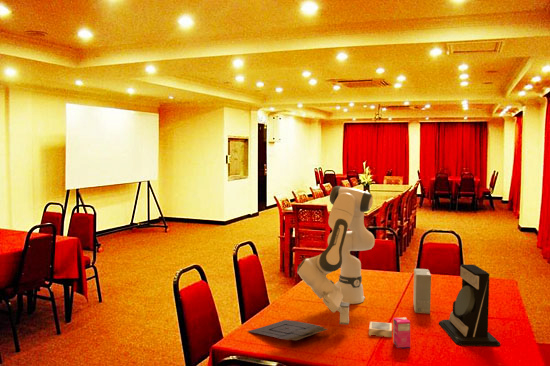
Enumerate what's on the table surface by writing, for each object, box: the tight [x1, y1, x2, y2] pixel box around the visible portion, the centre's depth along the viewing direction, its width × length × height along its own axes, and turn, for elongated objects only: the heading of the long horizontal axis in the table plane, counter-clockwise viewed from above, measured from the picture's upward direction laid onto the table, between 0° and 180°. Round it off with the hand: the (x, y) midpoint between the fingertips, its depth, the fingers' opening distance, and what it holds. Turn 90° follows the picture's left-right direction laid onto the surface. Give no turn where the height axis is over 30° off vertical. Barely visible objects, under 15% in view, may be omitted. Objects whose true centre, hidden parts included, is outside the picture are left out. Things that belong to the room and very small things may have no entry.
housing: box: [339, 302, 351, 326], centre depth 229 cm, size 4×5×8 cm
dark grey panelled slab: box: [247, 319, 329, 341], centre depth 227 cm, size 24×30×4 cm
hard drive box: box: [412, 268, 432, 314], centre depth 263 cm, size 16×8×20 cm, turn 168°
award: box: [438, 263, 501, 347], centre depth 227 cm, size 30×19×30 cm, turn 178°
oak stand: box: [368, 321, 393, 338], centre depth 229 cm, size 10×10×3 cm
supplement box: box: [392, 316, 411, 349], centre depth 213 cm, size 6×6×12 cm
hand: (345, 312), depth 228 cm, fingers closed on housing, 5 cm apart
